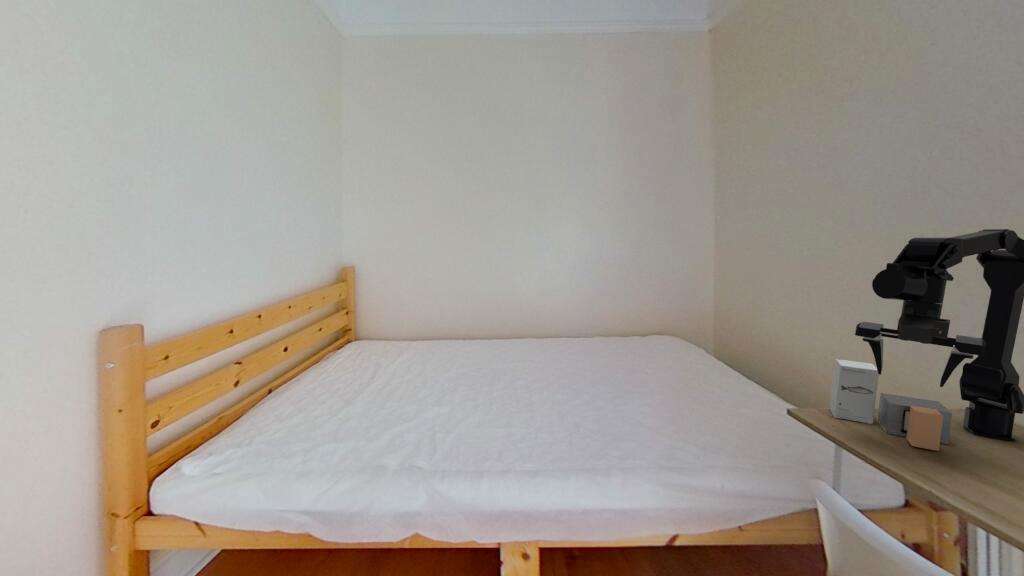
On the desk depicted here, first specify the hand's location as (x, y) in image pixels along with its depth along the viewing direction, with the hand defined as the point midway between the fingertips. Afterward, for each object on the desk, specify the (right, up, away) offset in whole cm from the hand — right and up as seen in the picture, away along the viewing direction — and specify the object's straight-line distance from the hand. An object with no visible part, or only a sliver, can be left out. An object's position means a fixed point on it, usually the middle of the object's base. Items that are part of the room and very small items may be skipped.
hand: (909, 380), depth 90 cm
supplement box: (+1, -12, +17) cm, 20 cm away
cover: (+6, -13, +5) cm, 15 cm away
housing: (+7, -13, +8) cm, 17 cm away
